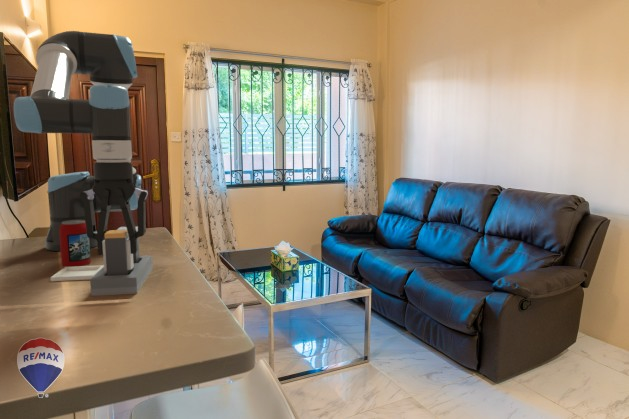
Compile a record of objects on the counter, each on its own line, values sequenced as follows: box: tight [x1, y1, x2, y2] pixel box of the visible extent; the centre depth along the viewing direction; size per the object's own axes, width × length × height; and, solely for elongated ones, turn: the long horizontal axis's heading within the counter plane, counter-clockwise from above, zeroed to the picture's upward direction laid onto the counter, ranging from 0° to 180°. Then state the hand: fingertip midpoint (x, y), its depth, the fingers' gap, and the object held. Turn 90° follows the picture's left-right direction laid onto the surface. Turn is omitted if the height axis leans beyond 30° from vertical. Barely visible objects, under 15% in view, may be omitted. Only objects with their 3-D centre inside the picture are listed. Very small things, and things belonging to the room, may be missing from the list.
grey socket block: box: [89, 254, 154, 297], centre depth 101 cm, size 20×9×4 cm, turn 11°
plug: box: [105, 229, 131, 276], centre depth 96 cm, size 4×4×10 cm
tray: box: [50, 264, 104, 282], centre depth 106 cm, size 9×9×2 cm
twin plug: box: [116, 225, 141, 263], centre depth 106 cm, size 4×4×10 cm
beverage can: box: [59, 220, 91, 268], centre depth 115 cm, size 7×7×12 cm
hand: (119, 268), depth 96 cm, fingers closed on plug, 4 cm apart
